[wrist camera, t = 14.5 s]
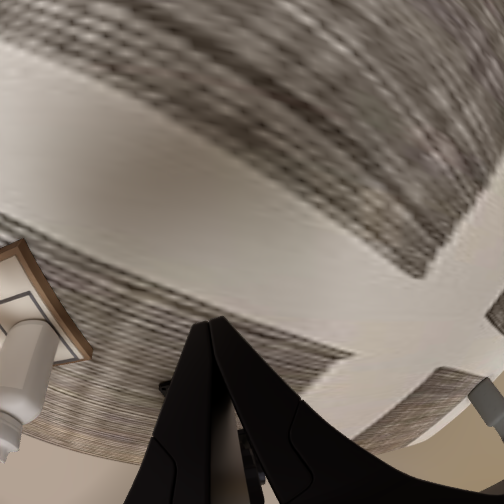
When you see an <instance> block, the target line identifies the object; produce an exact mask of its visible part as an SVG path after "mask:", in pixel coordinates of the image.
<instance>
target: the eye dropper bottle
mask: <svg viewBox="0 0 504 504" xmlns="http://www.w3.org/2000/svg"><path fill="white" fill-rule="evenodd" d="M58 344H59V337H58V335H57V334H56V332H55V331H54V330H53V329H52V327H51V326H50V325H49V324H48V323H47V322H45V321H41V320H26V321H22V322H19V323H17V324H16V325H14V326H13V327H12V328H11V329H10V330H9V332H8V334H7V336H6V338H5V340H4V343H3V345H2V348H1V350H0V462H1V463H5V461H6V459H7V456H8V453H10V452H17V451H19V445H20V439H21V433H22V425H24V424H27V423H29V422H31V421H32V420H34V419H35V418H36V417H37V416H38V415H39V414H40V413H41V411H42V408H43V404H44V399H45V395H46V391H47V386H48V382H49V378H50V374H51V370H52V366H53V362H54V359H55V355H56V351H57V348H58Z"/></svg>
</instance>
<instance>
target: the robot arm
mask: <svg viewBox="0 0 504 504" xmlns="http://www.w3.org/2000/svg"><path fill="white" fill-rule="evenodd" d="M159 390H160V391H161V393H162V394H163V395H164V396H165V400H164V402H163V405H162V408H161V411H160V414H159V416H158V419H157V422H156V425H155V428H154V431H153V433H152V435H153V437H151V439H150V442H149V445H148V448H147V450H146V453H145V456H144V458H143V461H142V464H141V466H140V469H139V471H138V473H137V476H136V478H135V480H134V482H133V485H132V487H131V489H130V491H129V493H128V495H127V497H126V499H125V501H124V503H123V504H264V496H263V491H262V487H261V485H264V484H265V476H266V478H267V479H268V482H269V484H270V485H271V488H272V490H273V492H274V494H275V496H276V498H277V499H278V501H279V503H280V504H504V480H502V481H500V482H498V483H497V484H495V485H493V486H491V487H489V488H487V489H485V490H483V491H481V492H474V491H468V490H463V489H459V488H454V487H449V486H445V485H441V484H437V483H433V482H429V481H425V480H421V479H418V478H415V477H412V476H410V475H408V474H405V473H403V472H401V471H399V470H397V469H395V468H394V467H392V466H390V465H388V464H387V463H385V462H383V461H382V460H380V459H379V458H377V457H376V456H374V455H373V454H371V453H370V452H368V451H366V450H365V449H363V448H362V447H360V446H359V445H357V444H356V443H354V442H353V441H352V440H350V439H349V438H347V437H346V436H344V435H343V434H342V433H340V432H339V431H338V430H336V429H335V428H334V427H333V426H331V425H330V424H329V423H328V422H326V421H325V420H324V419H323V418H322V417H321V416H320V415H319V414H318V413H316V412H315V411H314V410H313V409H312V408H311V407H310V406H309V405H308V404H307V403H306V402H305V401H304V400H301V397H300V396H299V395H298V394H297V393H296V392H295V391H294V390H293V389H292V388H291V387H290V386H289V385H288V384H287V383H286V382H285V381H284V380H283V379H282V378H281V377H280V376H279V375H278V374H277V373H276V372H275V371H274V370H273V369H272V368H271V367H270V366H269V364H268V363H267V362H266V361H265V360H264V359H263V358H262V357H261V356H260V355H259V354H258V353H257V352H256V351H255V350H254V349H253V347H252V346H251V345H250V344H249V343H248V342H247V341H246V340H245V339H244V338H243V337H242V335H241V334H240V333H239V332H238V331H237V330H236V329H235V328H234V327H233V326H232V324H231V323H230V322H229V321H228V320H227V319H226V318H225V317H224V316H220V317H216V318H212V319H210V320H209V322H208V321H202V322H198V323H194V324H193V325H192V327H191V329H190V332H189V335H188V337H187V340H186V343H185V345H184V348H183V351H182V353H181V356H180V359H179V361H178V364H177V367H176V369H175V372H174V375H173V378H172V380H171V382H167V383H162V384H160V385H159ZM233 405H234V406H233ZM234 408H235V410H236V412H237V415H238V417H239V419H240V422H241V424H242V426H243V429H239V430H237V426H236V419H235V413H234Z"/></svg>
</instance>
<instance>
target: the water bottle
mask: <svg viewBox="0 0 504 504" xmlns="http://www.w3.org/2000/svg"><path fill="white" fill-rule="evenodd" d="M468 398H469V400H470V401H471V403H472V404H473V406H474V407H475V409H476V410H477V411H478V413H479V414H480V415H481V417H482V419H483V420H484V422H485V423H486V425H487V426H489V427H492V426H493V427H495V429H496V431H497V432H498V433H499V435H500V437H501V439H502V441H504V397H503V396H502V395H501V394H500V392H499V391H498V389H497V388H496V387H495V386H494V384H493V383H492V381H491V380H490V379H489V378H486V379H484V380H483V381H481V382H480V383H479V384H478V385H477V386H476V387H475V388H474V389H473V390H472V391H471V392H470V394H469V396H468Z"/></svg>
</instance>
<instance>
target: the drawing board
mask: <svg viewBox="0 0 504 504" xmlns="http://www.w3.org/2000/svg"><path fill="white" fill-rule="evenodd" d="M26 320H41V321H45V322H47V323H48V324H49V325H50V326H51V327H52V329H53V330H54V331H55V332H56V334H57V335H58V337H59V344H58V348H57V351H56V355H55V359H54V362H53V366H58V365H64V364H69V363H75V362H80V361H85V360H90V359H92V353H93V349H92V347H91V346H90V345H89V343H88V342H87V341H86V339H85V338H84V336H83V335H82V334H81V332H80V331H79V330H78V328H77V327H76V325H75V324H74V322H73V321H72V319H71V318H70V317H69V315H68V314H67V312H66V311H65V309H64V307H63V306H62V304H61V303H60V301H59V300H58V298H57V297H56V295H55V293H54V292H53V290H52V288H51V287H50V285H49V284H48V282H47V280H46V278H45V277H44V275H43V273H42V272H41V270H40V268H39V266H38V264H37V263H36V261H35V259H34V257H33V255H32V253H31V251H30V250H29V248H28V246H27V244H26V242H25V240H24V238H23V239H21V240H18V241H16V242H14V243H12V244H9V245H7V246H5V247H3V248H1V249H0V350H1V348H2V345H3V343H4V340H5V338H6V336H7V334H8V332H9V330H10V329H11V328H12V327H13V326H14V325H16V324H17V323H19V322H22V321H26ZM53 366H52V367H53Z"/></svg>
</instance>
